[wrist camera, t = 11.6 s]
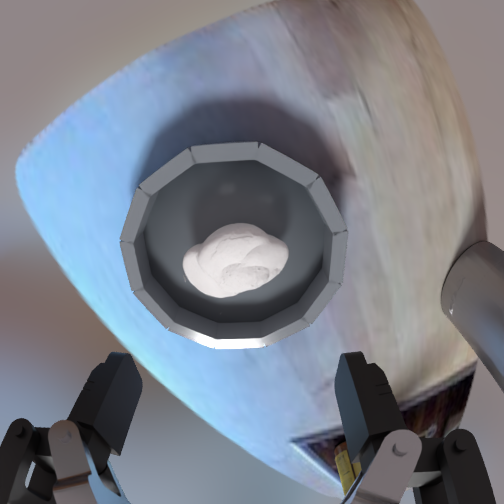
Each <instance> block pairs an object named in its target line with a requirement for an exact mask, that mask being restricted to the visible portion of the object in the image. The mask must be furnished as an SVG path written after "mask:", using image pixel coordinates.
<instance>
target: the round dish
mask: <svg viewBox="0 0 504 504" xmlns="http://www.w3.org/2000/svg"><path fill="white" fill-rule="evenodd" d="M235 223H247V224H251V225H255V226H256V227H258V228H260V229H262V230H263V231H265V233H266V234H268V235H272V236H274V237H276V238H278V239H279V240H281V241H283V242H284V243H285V244H286V245H287V247H288V250H289V254H288V259H287V261H286V264H285V265H284V268H283V269H282V270H281V271H280V273H279V274H277V275H276V276H275V277H274V278H273V279H272V280H270V281H269V282H267V283H265V284H263V285H262V286H260V287H258V288H256V289H253V290H247V291H245V292H244V291H243V292H241V293H238V294H237V295H234V296H229V297H224V298H218V297H213V296H210V295H207V294H204V293H203V292H201V291H199V290H198V289H197V288H196V287H195V286H194V285H193V284H192V283H191V282H190V281H189V280H188V278H187V276H186V274H185V272H184V269H183V258H184V255H185V254H186V252H187V251H188V250H189V249H190V248H192V247H193V246H195V245H197V244H202V243H204V241H205V240H206V239H207V238H208V237H209V236H210V235H211V234H212V233H213V232H215V231H216V230H218V229H219V228H221V227H223V226H226V225H229V224H235ZM346 229H348V228H347V226H346V224H345V222H344V220H343V218H342V216H341V214H340V212H339V210H338V208H337V206H336V204H335V202H334V200H333V198H332V197H331V195H330V193H329V191H328V189H327V187H326V185H325V183H324V182H323V180H322V178H321V177H320V176H319V174H317V173H315V172H314V171H312V170H311V169H309V168H307V167H306V166H304V165H302V164H300V163H299V162H297V161H295V160H293V159H291V158H290V157H288V156H286V155H284V154H282V153H281V152H279V151H277V150H275V149H273V148H271V147H269V146H267V145H265V144H264V143H262V142H259V144H258V142H257V141H242V142H223V143H212V144H200V145H195V146H191V147H189V148H187V149H185V150H184V151H182V152H181V153H180V154H178V155H177V156H176V157H174V158H173V159H172V160H170V161H169V162H167V163H166V164H165V165H164V166H162V167H161V168H160V169H158V170H157V171H156V172H154V173H153V174H152V175H151V176H149V177H148V178H147V179H146V180H144V181H143V182H142V183H141V184H139V187H137V189H136V191H135V194H134V197H133V200H132V202H131V205H130V208H129V211H128V214H127V217H126V220H125V223H124V227H123V230H122V233H121V236H120V240H121V241H120V247H121V251H122V255H123V259H124V264H125V268H126V272H127V275H128V279H129V283H130V287H131V290H132V291H134V292H133V294H134V295H135V296H136V297H137V298H138V299H139V300H140V302H141V303H142V304H143V305H144V306H145V307H146V308H147V309H148V310H149V311H150V313H151V314H152V315H153V316H154V317H155V318H156V319H157V320H158V321H159V322H160V323H161V324H162V325H163V326H164V327H165V328H166V329H167V328H169V329H168V330H169V331H171V332H173V333H176V334H178V335H180V336H183V337H185V338H188V339H190V340H193V341H195V342H198V343H200V344H203V345H205V346H208V347H211V348H214V346H215V348H216V349H237V348H263V347H264V345H265V346H266V347H267V346H269V345H272V344H274V343H276V342H278V341H280V340H282V339H284V338H286V337H288V336H291V335H293V334H295V333H297V332H299V331H301V330H303V329H305V328H307V327H309V326H310V325H309V323H310V324H312V323H313V322H314V321H315V320H316V318H317V317H318V316H319V315H320V313H321V312H322V311H323V309H324V308H325V307H326V305H327V304H328V303H329V301H330V300H331V299H332V297H333V296H334V295H335V293H336V292H337V291H338V289H339V288H340V287H341V283H343V275H344V267H345V258H346V249H347V239H348V231H347V230H346ZM183 275H184V276H185V278H186V282H185V279H184V277H183ZM220 313H221V314H220Z"/></svg>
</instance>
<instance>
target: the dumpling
mask: <svg viewBox="0 0 504 504" xmlns="http://www.w3.org/2000/svg"><path fill="white" fill-rule="evenodd" d="M288 254H289V250H288V247H287V245H286V244H285V243H284V242H283V241H281V240H279V239H278V238H276V237H274V236H272V235H268V234H266V233H265V231H263V230H262V229H260V228H258V227H256V226H255V225H251V224H247V223H235V224H229V225H226V226H223V227H221V228H219V229H218V230H216V231H215V232H213V233H212V234H211V235H210V236H209V237H208V238H207V239H206V240H205V241H204V243H202V244H197V245H195V246H193V247H192V248H190V249H189V250H188V251H187V252H186V254H185V255H184V258H183V269H184V272H185V274H186V276H187V278H188V280H189V281H190V282H191V283H192V284H193V285H194V286H195V287H196V288H197V289H198V290H199V291H201V292H203V293H204V294H207V295H210V296H213V297H218V298H224V297H229V296H234V295H237V294H238V293H241V292H243V291H244V292H245V291H247V290H253V289H256V288H258V287H260V286H262V285H263V284H265V283H267V282H269V281H270V280H272V279H273V278H274V277H275V276H276V275H277V274H279V273H280V271H281V270H282V269H283V268H284V265H285V264H286V261H287V259H288ZM183 277H184V279H185V282H186V278H185V276H184V275H183ZM220 314H221V313H220Z"/></svg>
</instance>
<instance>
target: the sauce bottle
mask: <svg viewBox="0 0 504 504" xmlns="http://www.w3.org/2000/svg"><path fill="white" fill-rule="evenodd" d="M335 456H336V458H335V460H336V464H337V468H338V471H339V475H340V479H341V483H342V487H343V491H344V495H345V496H346V494H347V492H348V491H349V489H350V488H351V486H352V485H353V483H354V481H355V480H356V478H357V476H358V475H359V473H360V471H361V470H362V469H361V464H360V462H358V463H353V464H351V461H350V456H349V452H348V447H347V442H346V441H344V442H343V443H341V444H339V445H338V446H337V447H336V448H335Z"/></svg>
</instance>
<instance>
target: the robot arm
mask: <svg viewBox="0 0 504 504" xmlns="http://www.w3.org/2000/svg"><path fill="white" fill-rule="evenodd" d="M441 305H442V310H443V312H444V314H445V315H446V316H447V317H448V318H449V320H450V321H451V322H452V323H453V324H454V326H455V327H456V328H457V329H458V331H459V332H460V333H461V334H462V336H463V337H464V338H465V340H466V341H467V342H468V344H469V345H470V346H471V347H472V349H473V350H474V351H475V353H476V354H477V355H478V357H479V358H480V359H481V361H482V362H483V364H484V365H485V366H486V368H487V369H488V371H489V372H490V373H491V375H492V376H493V378H494V379H495V381H496V382H497V383H498V385H499V387H500V388H501V390H502V391H503V393H504V251H502V250H501V249H500V248H498V247H497V246H495V245H494V244H492V243H490V242H487V241H486V242H479V243H476V244H475V245H473V246H471V247H470V248H469V249H467V250H466V251H465V252H464V253H463V254H462V255H461V256H460V258H459V259H458V260H457V261H456V263H455V264H454V266H453V267H452V269H451V271H450V273H449V275H448V276H447V279H446V281H445V284H444V287H443V291H442V295H441ZM141 392H142V379H141V377H140V374H139V372H138V370H137V367H136V365H135V363H134V361H133V358H132V356H131V355H130V354H128V353H119V352H111V353H110V354H109V356H108V358H107V360H106V361H105V363H100V364H99V365H98V366H97V367H96V368H95V369H94V370H93V371H92V372H91V374H90V376H89V378H88V380H87V382H86V383H85V385H84V387H83V390H82V391H81V393H80V395H79V397H78V399H77V401H76V403H75V405H74V407H73V409H72V411H71V413H70V415H69V417H68V418H67V420H60V421H58V422H56V423H54V424H53V425H52V427H51V428H41V427H34V426H33V425H32V424H31V423H30V422H29V421H28V420H26V419H24V418H20V419H16V420H15V421H13V422H12V423H11V425H10V426H9V429H8V430H7V433H6V435H5V437H4V439H3V441H2V444H1V446H0V504H131V503H130V502H129V501H128V499H127V498H126V496H125V494H124V492H123V490H122V488H121V486H120V484H119V481H118V479H117V477H116V475H115V473H114V470H113V468H112V465H111V463H110V461H109V460H108V458H109V455H110V453H111V454H114V455H118V456H120V455H121V451H122V448H123V445H124V442H125V439H126V436H127V433H128V430H129V427H130V424H131V421H132V418H133V415H134V412H135V409H136V407H137V404H138V401H139V398H140V395H141ZM335 394H336V399H337V403H338V407H339V411H340V416H341V420H342V424H343V429H344V433H345V438H346V442H347V447H348V452H349V456H350V461H351V464H353V463H358V462H360V464H361V469H362V470H361V471H360V473H359V475H358V476H357V478H356V480H355V481H354V483H353V485H352V486H351V488H350V489H349V491H348V492H347V494H346V496H345V497H344V499H343V500H342V502H341V503H340V504H399V503H400V500H401V498H402V496H403V494H404V492H405V490H406V487H413V492H414V497H415V502H416V504H496V501H495V497H494V494H493V490H492V487H491V483H490V480H489V476H488V473H487V470H486V467H485V464H484V461H483V458H482V456H481V453H480V450H479V447H478V445H477V442H476V440H475V437H474V436H473V434H472V433H471V432H469V431H467V430H465V429H456V430H453V431H451V432H450V433H449V434H448V435H447V436H446V437H445V438H421V437H418V436H417V435H416V434H415V433H413V432H412V431H409V430H408V429H407V427H406V425H405V423H404V420H403V417H402V415H401V412H400V410H399V407H398V405H397V402H396V400H395V397H394V395H393V394H392V390H391V387H390V385H389V384H388V380H387V378H386V375H385V373H384V371H383V370H382V369H381V368H380V367H379V366H377V365H376V364H375V363H371V364H367V362H366V360H365V357H364V355H363V353H362V352H361V351H359V352H351V353H342V354H341V356H340V360H339V364H338V369H337V373H336V377H335ZM32 461H33V462H34V463H35V464H36V465H35V468H34V471H33V473H32V476H31V480H30V482H29V486H28V488H26V486H25V480H26V477H27V474H28V471H29V468H30V465H31V463H32Z"/></svg>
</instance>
